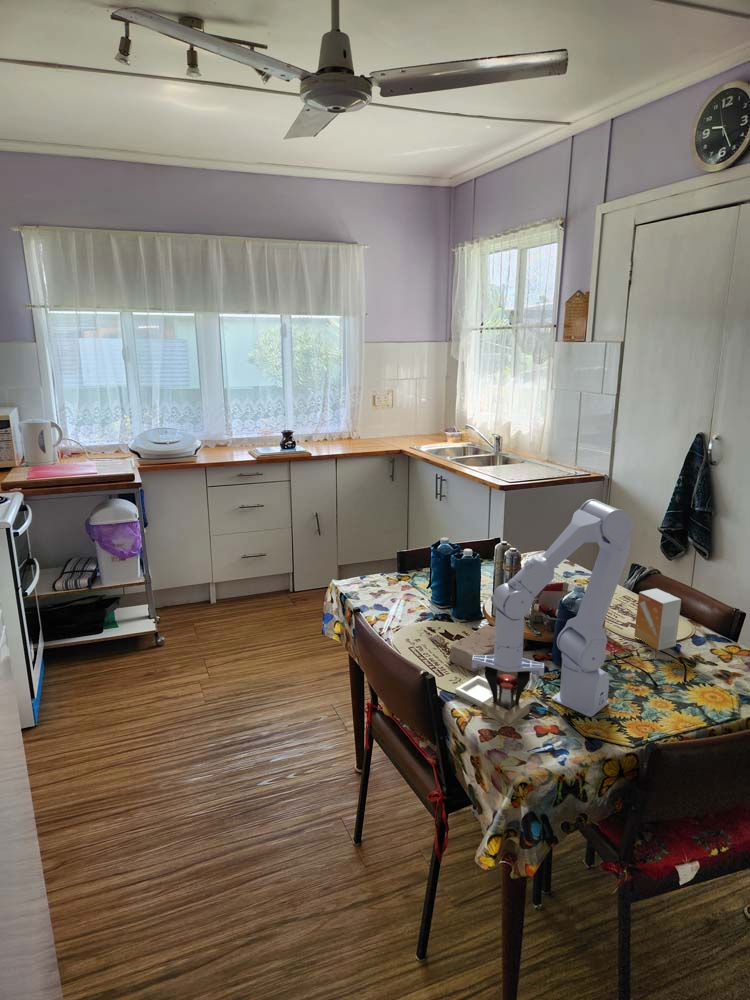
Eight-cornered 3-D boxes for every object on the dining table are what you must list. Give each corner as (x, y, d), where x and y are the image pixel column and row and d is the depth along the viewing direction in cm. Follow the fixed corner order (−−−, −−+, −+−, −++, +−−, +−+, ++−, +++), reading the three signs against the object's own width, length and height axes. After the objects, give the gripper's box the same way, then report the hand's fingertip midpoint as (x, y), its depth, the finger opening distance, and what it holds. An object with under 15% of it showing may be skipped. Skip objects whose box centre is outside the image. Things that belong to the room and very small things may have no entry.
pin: (519, 713, 135) (520, 679, 133) (507, 721, 133) (509, 686, 131) (503, 705, 138) (504, 672, 136) (492, 713, 135) (493, 679, 133)
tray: (506, 694, 142) (506, 688, 142) (484, 709, 137) (484, 702, 136) (477, 681, 148) (477, 675, 147) (455, 694, 142) (455, 688, 142)
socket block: (529, 713, 135) (529, 702, 135) (509, 727, 130) (510, 716, 130) (501, 700, 140) (502, 689, 139) (482, 712, 135) (482, 702, 135)
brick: (475, 673, 152) (476, 655, 151) (447, 661, 157) (448, 644, 156) (513, 649, 163) (514, 632, 162) (486, 639, 169) (486, 622, 168)
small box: (633, 637, 168) (638, 591, 165) (651, 633, 170) (656, 587, 167) (657, 651, 161) (663, 603, 157) (676, 646, 163) (682, 598, 160)
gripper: (545, 636, 133) (541, 695, 136) (475, 629, 137) (473, 686, 140) (545, 652, 126) (541, 713, 130) (471, 644, 130) (469, 704, 133)
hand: (506, 700), depth 135 cm, fingers closed on pin, 4 cm apart
